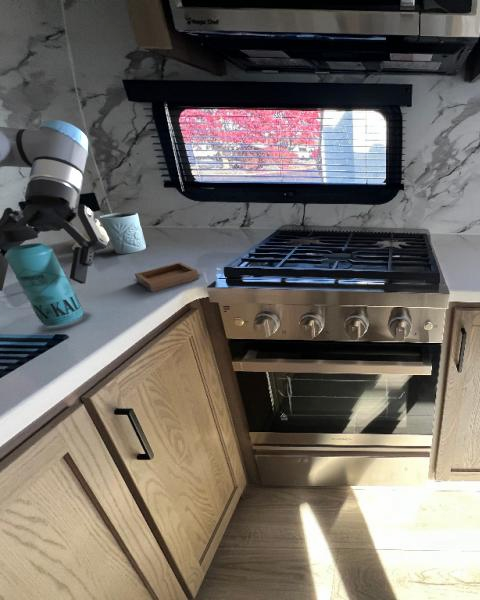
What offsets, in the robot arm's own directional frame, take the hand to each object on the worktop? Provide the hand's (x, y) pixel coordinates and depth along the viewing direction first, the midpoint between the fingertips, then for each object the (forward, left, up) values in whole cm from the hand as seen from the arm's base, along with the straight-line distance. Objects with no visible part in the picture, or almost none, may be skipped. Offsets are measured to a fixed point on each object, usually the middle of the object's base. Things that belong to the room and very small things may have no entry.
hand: (35, 284), depth 61 cm
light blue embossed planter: (-54, +26, -10) cm, 61 cm away
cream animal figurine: (-71, +19, -10) cm, 74 cm away
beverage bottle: (-2, +1, -10) cm, 10 cm away
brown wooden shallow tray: (-12, +23, -10) cm, 28 cm away
